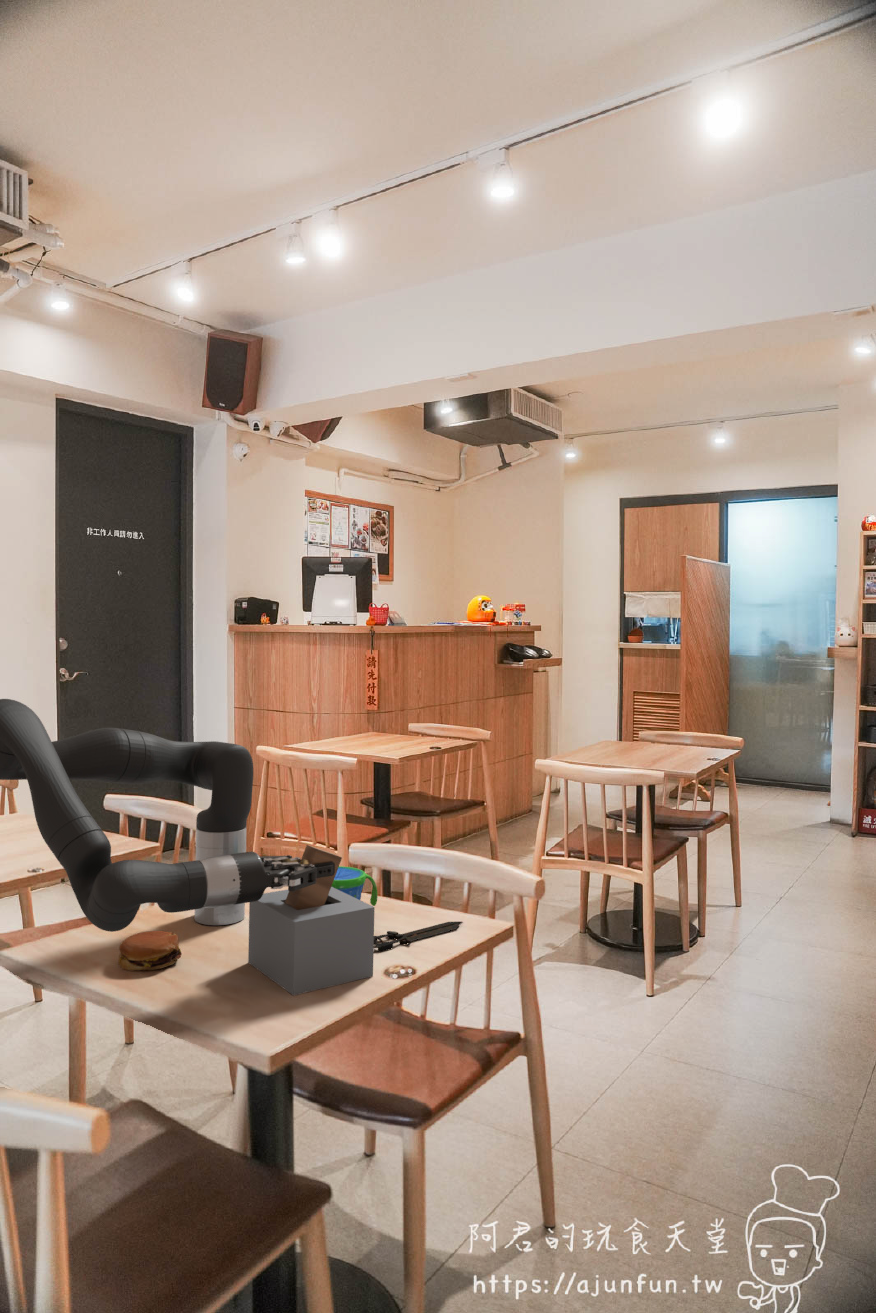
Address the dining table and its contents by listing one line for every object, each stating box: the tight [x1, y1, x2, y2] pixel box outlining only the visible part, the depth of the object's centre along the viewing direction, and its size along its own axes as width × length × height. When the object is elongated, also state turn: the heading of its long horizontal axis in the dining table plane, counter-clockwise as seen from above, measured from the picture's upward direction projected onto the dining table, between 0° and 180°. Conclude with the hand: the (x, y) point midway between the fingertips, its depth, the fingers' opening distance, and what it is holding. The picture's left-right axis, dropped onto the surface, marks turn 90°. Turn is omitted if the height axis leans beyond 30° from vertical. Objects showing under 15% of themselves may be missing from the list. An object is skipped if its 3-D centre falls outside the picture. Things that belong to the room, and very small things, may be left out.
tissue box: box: [247, 887, 375, 996], centre depth 142 cm, size 16×14×11 cm
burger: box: [118, 930, 182, 971], centre depth 143 cm, size 10×9×5 cm
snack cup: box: [331, 865, 379, 907], centre depth 163 cm, size 16×10×10 cm
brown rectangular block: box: [285, 844, 343, 910], centre depth 142 cm, size 4×5×10 cm
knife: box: [374, 921, 464, 953], centre depth 159 cm, size 25×6×1 cm, turn 126°
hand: (327, 865), depth 144 cm, fingers closed on brown rectangular block, 3 cm apart
